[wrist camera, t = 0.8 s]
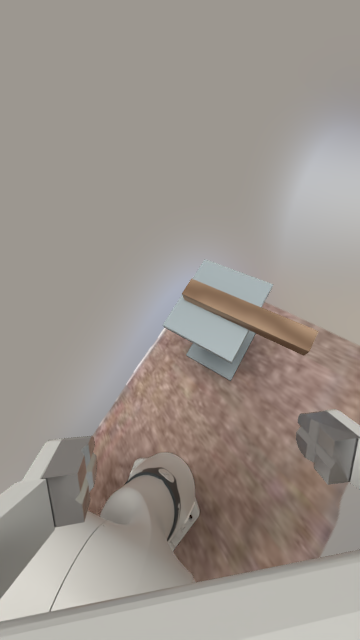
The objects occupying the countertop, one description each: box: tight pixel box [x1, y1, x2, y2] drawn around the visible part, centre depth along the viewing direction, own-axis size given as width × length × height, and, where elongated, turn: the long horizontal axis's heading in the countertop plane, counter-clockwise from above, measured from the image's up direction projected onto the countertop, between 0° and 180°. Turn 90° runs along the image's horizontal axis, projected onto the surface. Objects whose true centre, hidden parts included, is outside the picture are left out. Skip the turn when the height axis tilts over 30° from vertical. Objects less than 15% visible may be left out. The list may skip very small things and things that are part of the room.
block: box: [182, 279, 318, 355], centre depth 37 cm, size 4×22×2 cm, turn 58°
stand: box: [163, 260, 273, 381], centre depth 52 cm, size 16×14×26 cm
